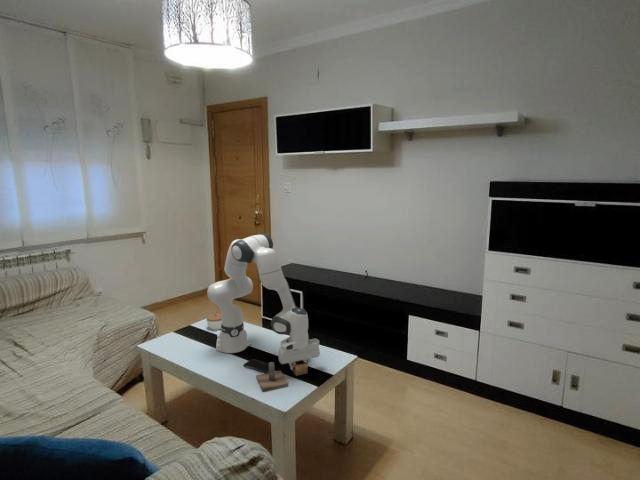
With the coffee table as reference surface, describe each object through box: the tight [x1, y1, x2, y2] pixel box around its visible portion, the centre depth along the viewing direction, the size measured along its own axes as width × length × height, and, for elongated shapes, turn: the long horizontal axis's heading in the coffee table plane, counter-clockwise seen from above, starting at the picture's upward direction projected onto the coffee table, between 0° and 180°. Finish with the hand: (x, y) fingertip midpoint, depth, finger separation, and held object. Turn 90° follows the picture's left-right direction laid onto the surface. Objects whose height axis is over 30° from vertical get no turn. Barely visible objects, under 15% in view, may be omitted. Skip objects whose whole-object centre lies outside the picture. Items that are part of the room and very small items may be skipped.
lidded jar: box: [206, 312, 222, 331], centre depth 241 cm, size 11×11×9 cm
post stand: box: [255, 361, 289, 393], centre depth 181 cm, size 12×12×10 cm
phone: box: [242, 358, 276, 374], centre depth 196 cm, size 8×1×15 cm
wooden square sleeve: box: [291, 359, 309, 377], centre depth 191 cm, size 6×6×5 cm
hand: (299, 367), depth 191 cm, fingers closed on wooden square sleeve, 6 cm apart
